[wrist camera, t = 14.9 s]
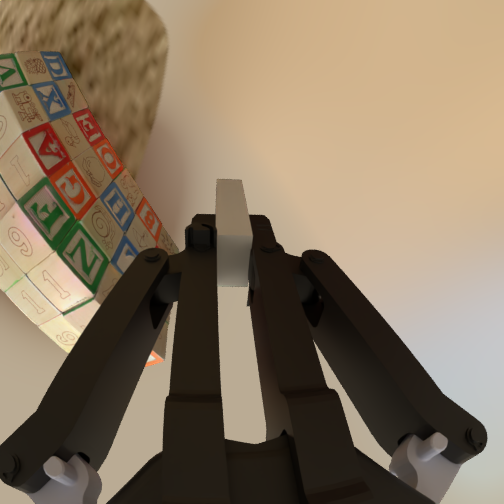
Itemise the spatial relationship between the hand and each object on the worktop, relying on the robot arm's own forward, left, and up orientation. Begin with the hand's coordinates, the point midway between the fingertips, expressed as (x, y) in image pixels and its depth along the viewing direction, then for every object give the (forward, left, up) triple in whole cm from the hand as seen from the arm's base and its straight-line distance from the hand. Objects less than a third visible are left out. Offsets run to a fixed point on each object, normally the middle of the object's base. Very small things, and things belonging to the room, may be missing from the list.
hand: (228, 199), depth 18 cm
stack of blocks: (0, -12, -6) cm, 13 cm away
